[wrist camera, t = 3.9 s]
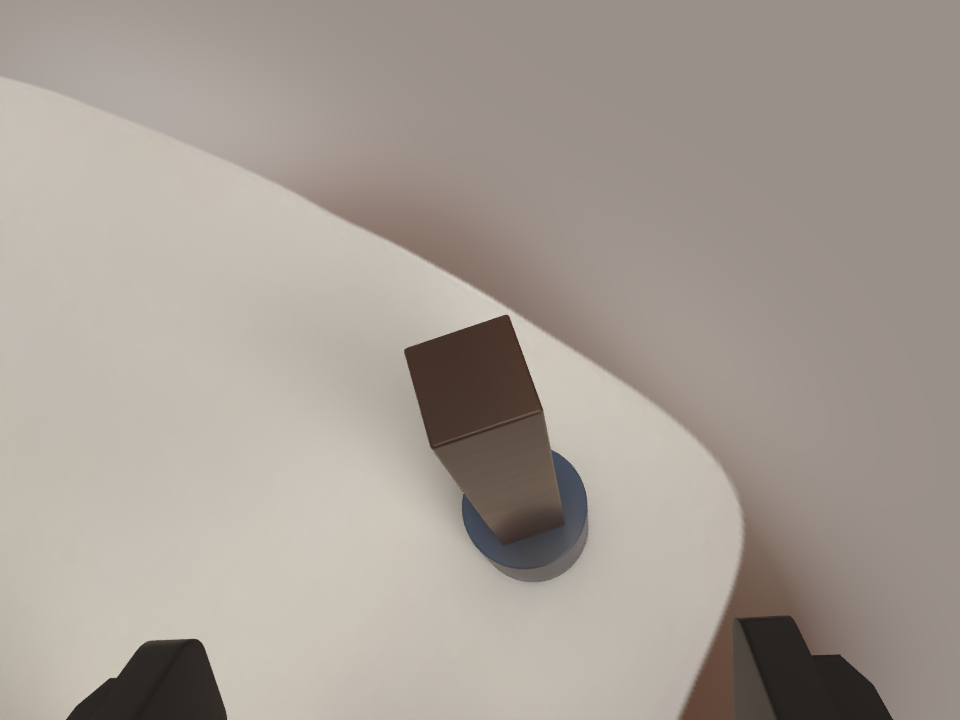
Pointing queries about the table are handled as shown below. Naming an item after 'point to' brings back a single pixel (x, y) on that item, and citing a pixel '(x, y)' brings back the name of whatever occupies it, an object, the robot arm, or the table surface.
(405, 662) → the table surface
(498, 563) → the brush
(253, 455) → the table surface
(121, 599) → the table surface
